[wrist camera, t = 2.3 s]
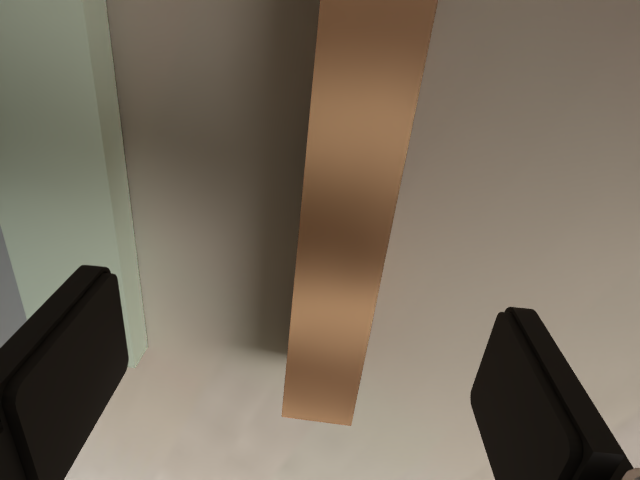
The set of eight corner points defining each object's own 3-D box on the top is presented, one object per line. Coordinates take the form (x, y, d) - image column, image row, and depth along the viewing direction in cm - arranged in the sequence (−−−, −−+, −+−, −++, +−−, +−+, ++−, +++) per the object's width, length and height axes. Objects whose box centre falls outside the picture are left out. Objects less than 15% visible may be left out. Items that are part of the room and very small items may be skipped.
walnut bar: (336, -78, 14) (329, -101, 11) (431, -67, 14) (455, -86, 11) (293, 351, 23) (281, 416, 19) (351, 359, 23) (351, 425, 19)
